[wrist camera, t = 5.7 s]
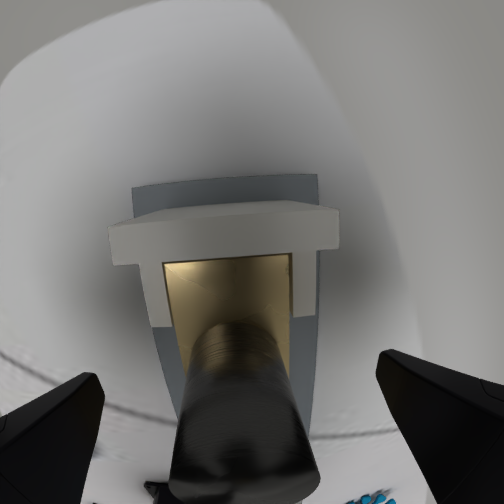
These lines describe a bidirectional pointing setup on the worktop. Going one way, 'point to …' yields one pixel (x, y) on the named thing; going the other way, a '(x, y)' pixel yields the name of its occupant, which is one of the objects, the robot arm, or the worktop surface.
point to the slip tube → (237, 385)
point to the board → (300, 328)
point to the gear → (379, 499)
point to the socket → (226, 244)
